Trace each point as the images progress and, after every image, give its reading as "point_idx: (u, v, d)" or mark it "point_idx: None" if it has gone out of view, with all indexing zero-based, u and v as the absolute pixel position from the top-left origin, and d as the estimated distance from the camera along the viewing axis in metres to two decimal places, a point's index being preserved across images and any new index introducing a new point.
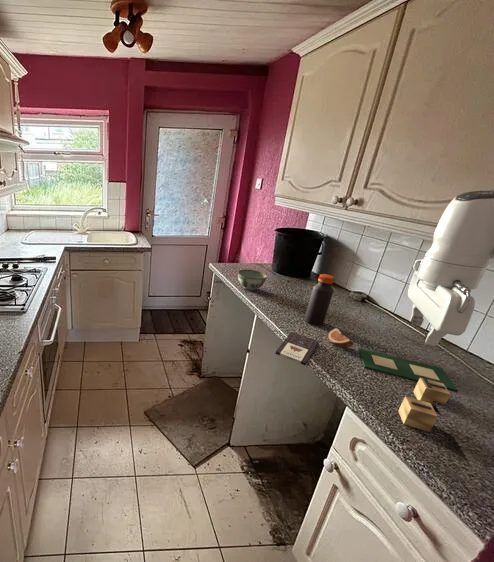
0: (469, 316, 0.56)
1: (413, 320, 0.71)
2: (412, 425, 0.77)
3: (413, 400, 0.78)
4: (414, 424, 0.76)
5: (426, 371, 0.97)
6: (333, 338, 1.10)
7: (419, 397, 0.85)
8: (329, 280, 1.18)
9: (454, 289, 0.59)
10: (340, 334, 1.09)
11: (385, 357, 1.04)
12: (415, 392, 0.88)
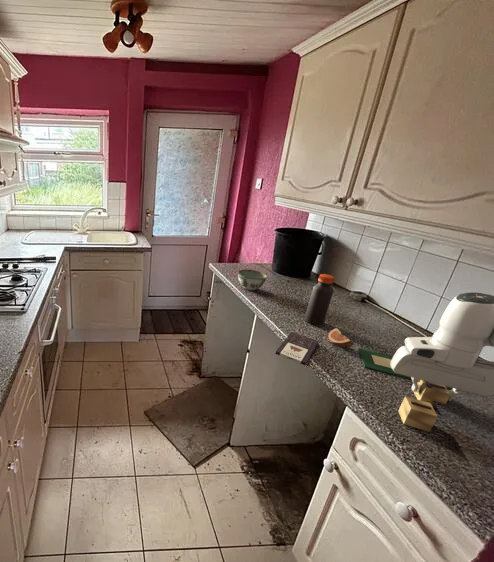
0: None
1: (420, 390, 0.85)
2: (412, 425, 0.77)
3: (413, 400, 0.78)
4: (414, 424, 0.76)
5: None
6: (333, 338, 1.10)
7: (419, 397, 0.85)
8: (329, 280, 1.18)
9: (479, 364, 0.78)
10: (340, 334, 1.09)
11: (385, 357, 1.04)
12: (415, 392, 0.88)
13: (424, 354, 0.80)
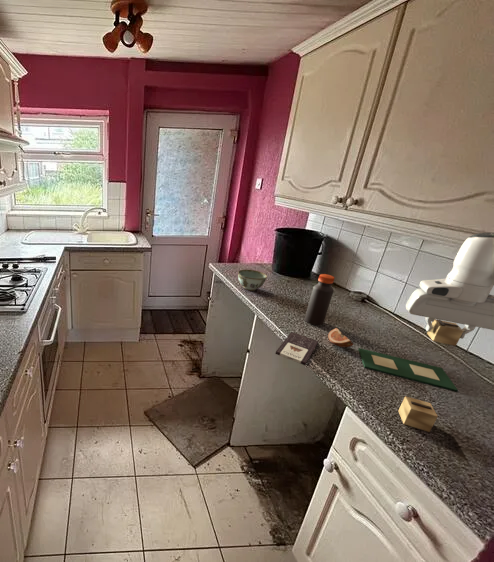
0: None
1: (434, 329, 0.91)
2: (412, 425, 0.77)
3: (413, 400, 0.78)
4: (414, 424, 0.76)
5: (426, 371, 0.97)
6: (333, 338, 1.10)
7: (433, 336, 0.91)
8: (329, 280, 1.18)
9: (491, 300, 0.83)
10: (340, 334, 1.09)
11: (385, 357, 1.04)
12: (429, 333, 0.93)
13: (439, 292, 0.86)
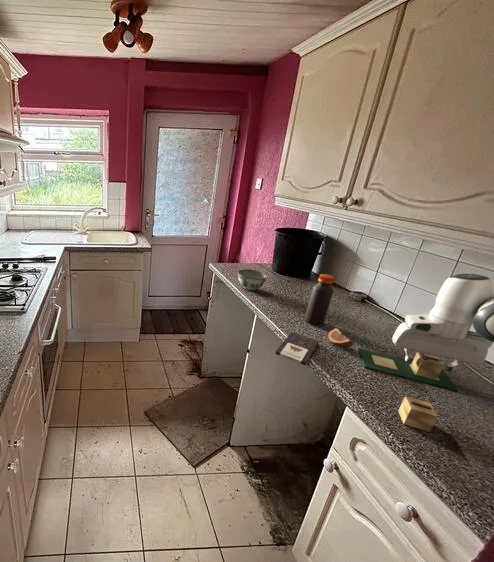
0: None
1: (412, 360, 0.97)
2: (412, 425, 0.77)
3: (413, 400, 0.78)
4: (414, 424, 0.76)
5: None
6: (333, 338, 1.10)
7: (416, 368, 0.96)
8: (329, 280, 1.18)
9: (470, 336, 0.89)
10: (340, 334, 1.09)
11: (385, 357, 1.04)
12: (413, 365, 0.99)
13: (422, 328, 0.91)
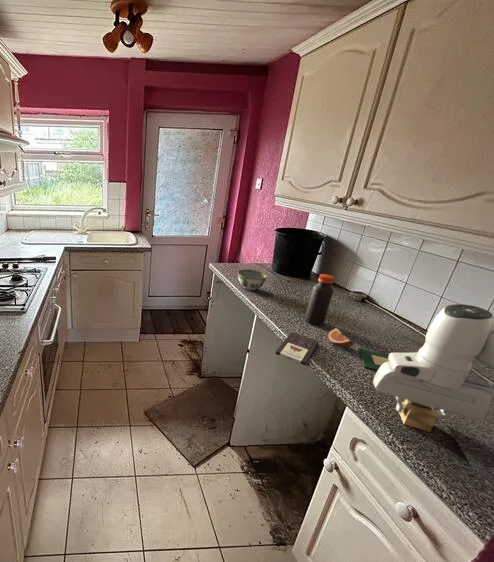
0: None
1: (405, 410, 0.78)
2: (412, 425, 0.77)
3: None
4: (414, 424, 0.76)
5: None
6: (333, 338, 1.10)
7: None
8: (329, 280, 1.18)
9: (468, 384, 0.71)
10: (340, 334, 1.09)
11: (385, 357, 1.04)
12: None
13: (408, 372, 0.73)
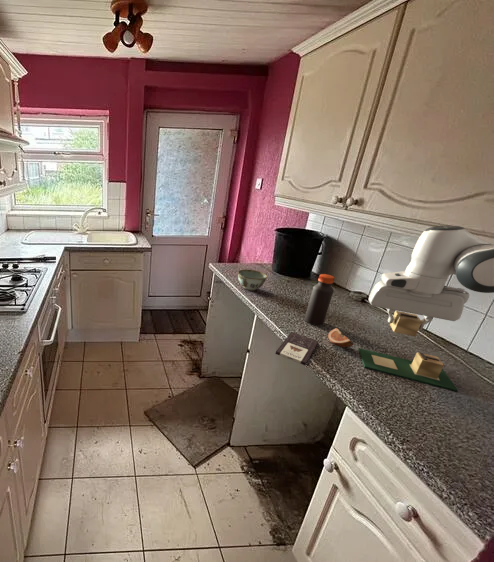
0: None
1: (395, 321, 0.93)
2: (401, 332, 0.92)
3: (402, 313, 0.94)
4: (402, 331, 0.92)
5: None
6: (333, 338, 1.10)
7: (416, 368, 0.96)
8: (329, 280, 1.18)
9: (446, 291, 0.86)
10: (340, 334, 1.09)
11: (385, 357, 1.04)
12: (413, 365, 0.99)
13: (397, 284, 0.88)
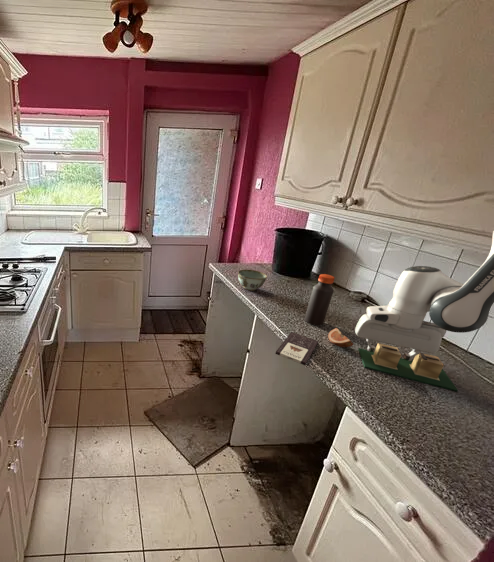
0: None
1: (373, 349, 1.01)
2: (382, 364, 0.99)
3: (384, 345, 1.01)
4: (384, 363, 0.99)
5: None
6: (333, 338, 1.10)
7: (416, 368, 0.96)
8: (329, 280, 1.18)
9: (425, 326, 0.93)
10: (340, 334, 1.09)
11: None
12: (413, 365, 0.99)
13: (380, 319, 0.95)
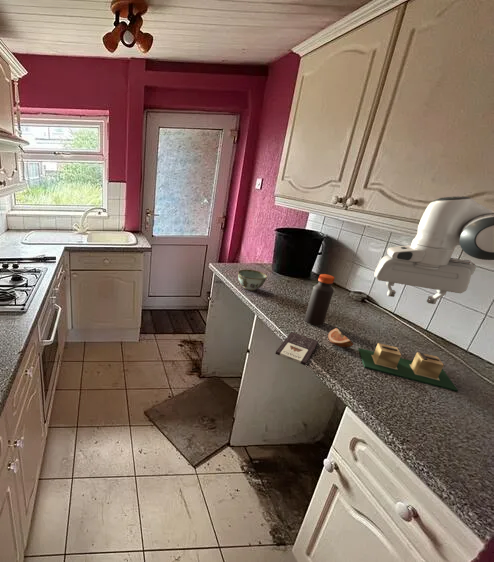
0: None
1: (394, 294, 0.94)
2: (382, 364, 0.99)
3: (384, 345, 1.01)
4: (384, 363, 0.99)
5: None
6: (333, 338, 1.10)
7: (416, 368, 0.96)
8: (329, 280, 1.18)
9: (453, 263, 0.86)
10: (340, 334, 1.09)
11: None
12: (413, 365, 0.99)
13: (403, 257, 0.88)
